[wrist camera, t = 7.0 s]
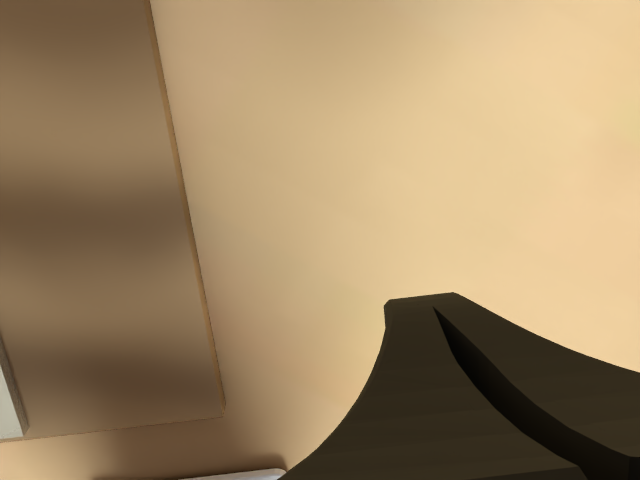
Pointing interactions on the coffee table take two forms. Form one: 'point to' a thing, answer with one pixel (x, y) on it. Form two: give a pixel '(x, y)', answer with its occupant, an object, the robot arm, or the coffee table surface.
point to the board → (96, 226)
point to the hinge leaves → (10, 402)
